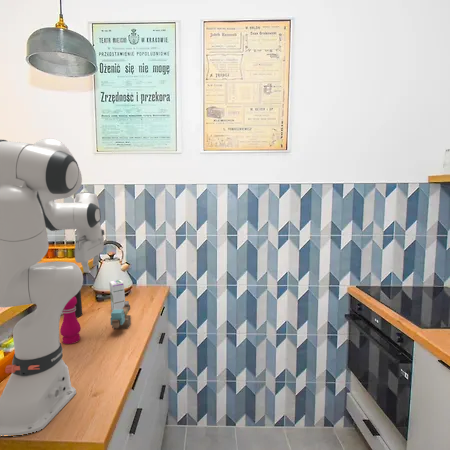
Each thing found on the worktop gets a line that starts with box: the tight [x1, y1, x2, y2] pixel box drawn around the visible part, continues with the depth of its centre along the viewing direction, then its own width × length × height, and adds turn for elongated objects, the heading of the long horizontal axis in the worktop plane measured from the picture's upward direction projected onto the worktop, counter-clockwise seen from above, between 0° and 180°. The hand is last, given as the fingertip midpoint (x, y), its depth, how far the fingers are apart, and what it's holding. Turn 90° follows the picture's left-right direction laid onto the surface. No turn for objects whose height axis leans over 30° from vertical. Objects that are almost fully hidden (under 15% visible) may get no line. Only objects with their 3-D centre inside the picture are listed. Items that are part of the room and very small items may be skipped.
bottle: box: [75, 288, 83, 319], centre depth 148 cm, size 7×7×20 cm
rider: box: [110, 309, 125, 326], centre depth 130 cm, size 4×5×5 cm
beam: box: [111, 300, 132, 330], centre depth 136 cm, size 20×6×8 cm, turn 3°
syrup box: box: [108, 279, 126, 312], centre depth 154 cm, size 6×6×14 cm
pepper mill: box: [59, 296, 82, 345], centre depth 124 cm, size 7×7×20 cm
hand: (91, 268), depth 126 cm, fingers open, 8 cm apart
